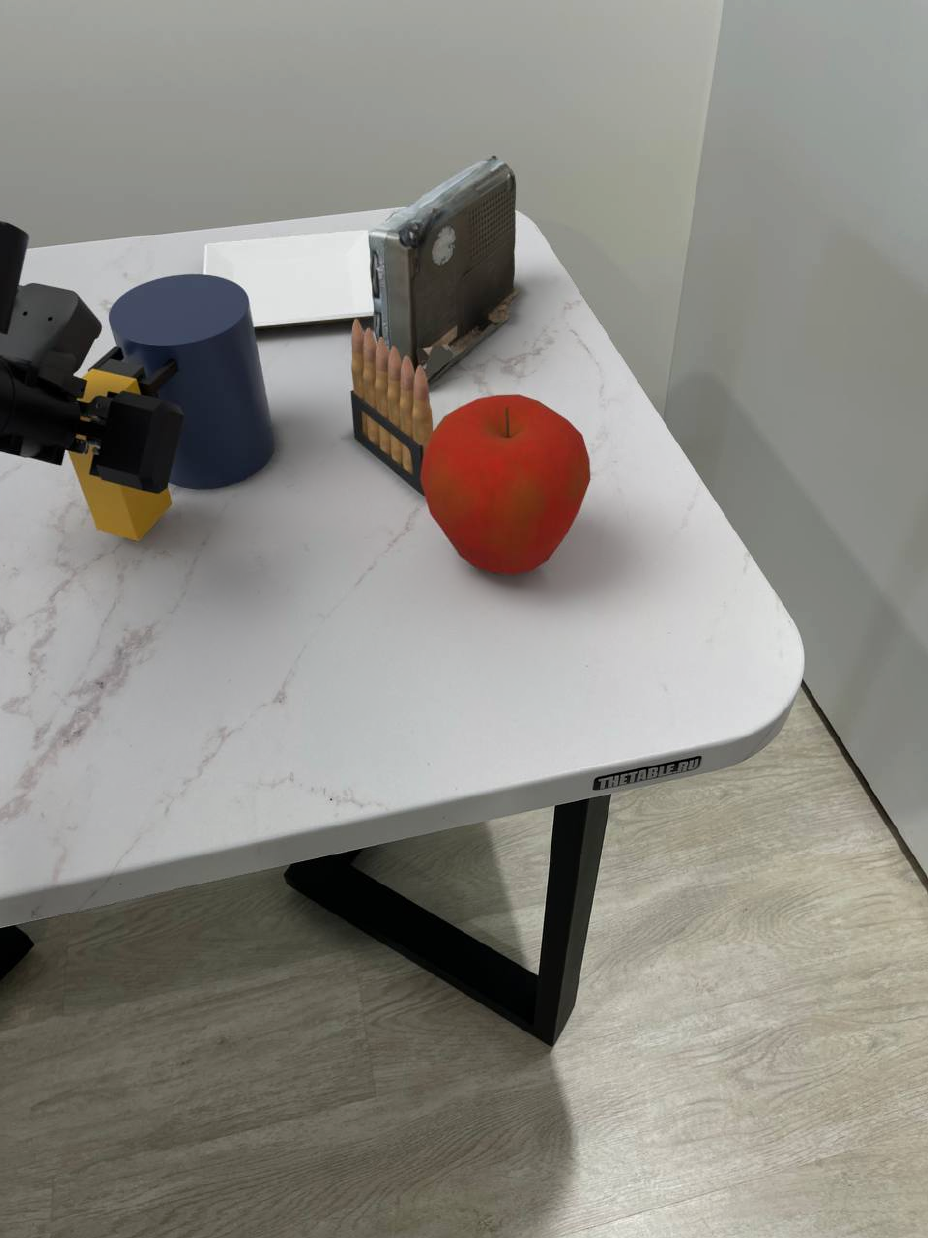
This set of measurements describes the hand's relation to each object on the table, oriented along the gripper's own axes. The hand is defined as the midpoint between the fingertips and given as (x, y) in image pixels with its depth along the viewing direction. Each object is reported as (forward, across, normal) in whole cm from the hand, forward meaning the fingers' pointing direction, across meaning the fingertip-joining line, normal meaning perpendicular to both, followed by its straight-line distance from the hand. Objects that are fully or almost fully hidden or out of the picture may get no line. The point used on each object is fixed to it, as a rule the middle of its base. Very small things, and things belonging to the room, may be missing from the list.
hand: (124, 441), depth 78 cm
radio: (+32, -12, -20) cm, 39 cm away
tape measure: (+4, 0, +6) cm, 7 cm away
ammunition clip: (+16, -16, -4) cm, 23 cm away
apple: (+10, -29, +1) cm, 31 cm away
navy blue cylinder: (+12, 0, 0) cm, 12 cm away
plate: (+32, +6, -21) cm, 39 cm away
